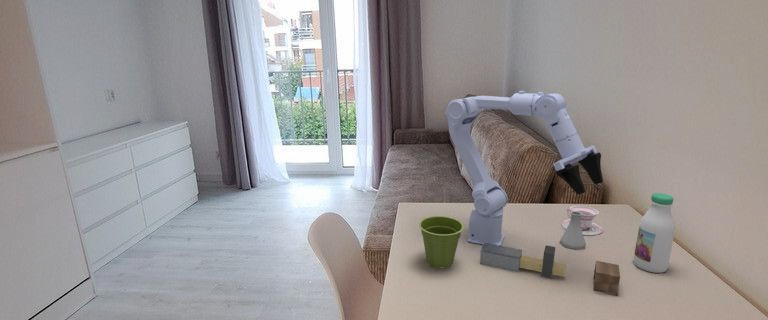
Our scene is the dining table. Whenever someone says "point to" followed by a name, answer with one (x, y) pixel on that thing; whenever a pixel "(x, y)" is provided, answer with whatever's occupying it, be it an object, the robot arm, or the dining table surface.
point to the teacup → (585, 220)
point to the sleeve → (500, 257)
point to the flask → (574, 233)
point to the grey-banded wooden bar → (544, 263)
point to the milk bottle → (655, 235)
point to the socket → (606, 278)
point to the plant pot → (440, 239)
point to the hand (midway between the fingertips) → (590, 188)
